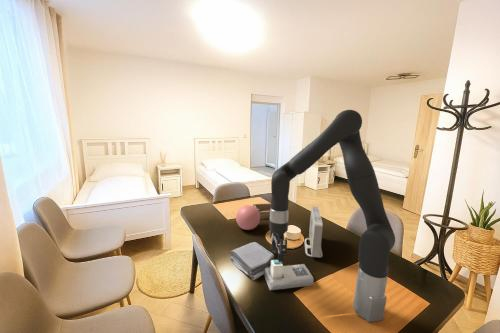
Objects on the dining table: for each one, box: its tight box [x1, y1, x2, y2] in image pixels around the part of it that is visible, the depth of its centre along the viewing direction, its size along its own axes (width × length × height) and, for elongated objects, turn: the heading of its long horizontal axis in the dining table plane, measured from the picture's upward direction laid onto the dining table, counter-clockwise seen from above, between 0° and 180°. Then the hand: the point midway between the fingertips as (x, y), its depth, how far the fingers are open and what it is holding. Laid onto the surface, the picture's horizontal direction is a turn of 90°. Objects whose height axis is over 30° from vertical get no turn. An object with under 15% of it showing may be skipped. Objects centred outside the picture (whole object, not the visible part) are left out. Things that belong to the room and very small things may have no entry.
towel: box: [229, 241, 275, 281], centre depth 108 cm, size 15×18×8 cm
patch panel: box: [263, 263, 314, 291], centre depth 98 cm, size 10×19×4 cm, turn 101°
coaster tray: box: [252, 202, 271, 220], centre depth 169 cm, size 16×16×5 cm
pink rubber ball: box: [235, 204, 261, 231], centre depth 145 cm, size 15×20×15 cm
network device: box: [304, 206, 324, 258], centre depth 123 cm, size 26×9×20 cm, turn 168°
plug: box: [270, 259, 284, 279], centre depth 96 cm, size 4×4×10 cm
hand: (277, 255), depth 94 cm, fingers open, 8 cm apart
